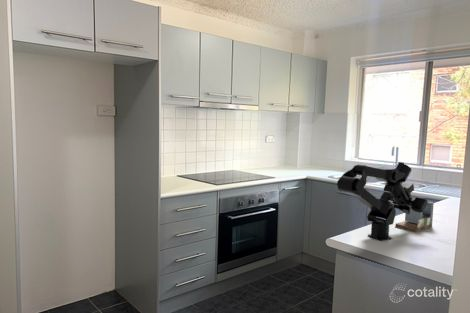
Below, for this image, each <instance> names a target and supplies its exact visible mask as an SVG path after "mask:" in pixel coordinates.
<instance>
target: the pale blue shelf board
mask: <svg viewBox="0 0 470 313" xmlns="http://www.w3.org/2000/svg"><path fill="white" fill-rule="evenodd" d="M404 215H405V216H404V221H407V222H411V223H416V224H418V220H420V219H424V217H425V218H429V217H427V216H424V215H422V212H421V213H420V212H415V211H413V210H412V209H410V214H406V213H405V214H404Z"/></svg>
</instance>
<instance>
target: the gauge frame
mask: <svg viewBox="0 0 470 313" xmlns="http://www.w3.org/2000/svg"><path fill="white" fill-rule="evenodd" d="M432 227H433V223H432V224H430V217H429V218H424V219H420V220H418V224H416V223H411V222H407V221H405V220H403V221H400V222H396V223H395V228H397V229H398V228H399V229H403V230H407V231H410V232H414V233H417V232H420V231H423V230H425V229H430V228H432Z"/></svg>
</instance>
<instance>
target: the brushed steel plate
mask: <svg viewBox="0 0 470 313" xmlns="http://www.w3.org/2000/svg"><path fill="white" fill-rule="evenodd" d="M413 199H414V200H415V198H413ZM427 202H428V203H427V205H426V207H425V209H424V211H423V212H422V215H424V216H427V217H430V224H432V225H433V218H434V217H433V216H434V202H433V201H428V200H427ZM424 218H425V217H424Z"/></svg>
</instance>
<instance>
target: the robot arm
mask: <svg viewBox="0 0 470 313" xmlns="http://www.w3.org/2000/svg"><path fill="white" fill-rule="evenodd" d="M411 172H412V168H411V167H410V166H409V165H408V164H406V163H404V162H401V161H398V164H397V165H396V167H395V168H393V167H392V168H391V167H382V166H381V167H378V168H377V167H374V166H368V165H365V164H355V165H354V166H353V167H352V168H351V169H349V170H347V171H346V172H343V174H342V175H341V176H340V177H339V179H338V180H337V183H336V186H337V189H338V191H339V192H342V193H344V194H348V195H350V196H353V197H354V198H356V199H358V201H360V202H361V203H362V204H364V205H365V206H366V207H368V208H369V209H370V211H369V213H368V215H367V216H366V219H367V221H368V222H371V227H370V228H371V229H370V230H371V232H370V234H367V236H368V237H370V238H372V239H376V240H378V241H385V240H391V239H392V236H389V235H390V226H392V225H394V222H395V218H396V215H397V214H396V212H397V211H396V210H399V211H400V212H403V213H406V214H410V209H412V210H413V211H415V212H420V213H421V212H423V211H424V209H425V207H426V205H427V203H428V202H429V201H428V200H427V198H426V197H422V196H421V197H419V196H415V197H414V198H413V197H411V196H412V193H413V191H415V187H414V186H415V185H414V183H413V182H411V181H407V179H408V177H409V176H410V174H411ZM358 176H361V177H360V178H357V177H358ZM368 177H370V178H371V177H372V178H376V180H377V181H379V182H384V183H385V184H384V187H383V192H382V194H381V196H380V198H377V197H376V196H374V195H373V194H372V193H371V192H369V190H367V189H366V188H365V186H366V185H367V178H368ZM414 199H415V200H414ZM390 201H391V202H390ZM427 201H428V202H427Z"/></svg>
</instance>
